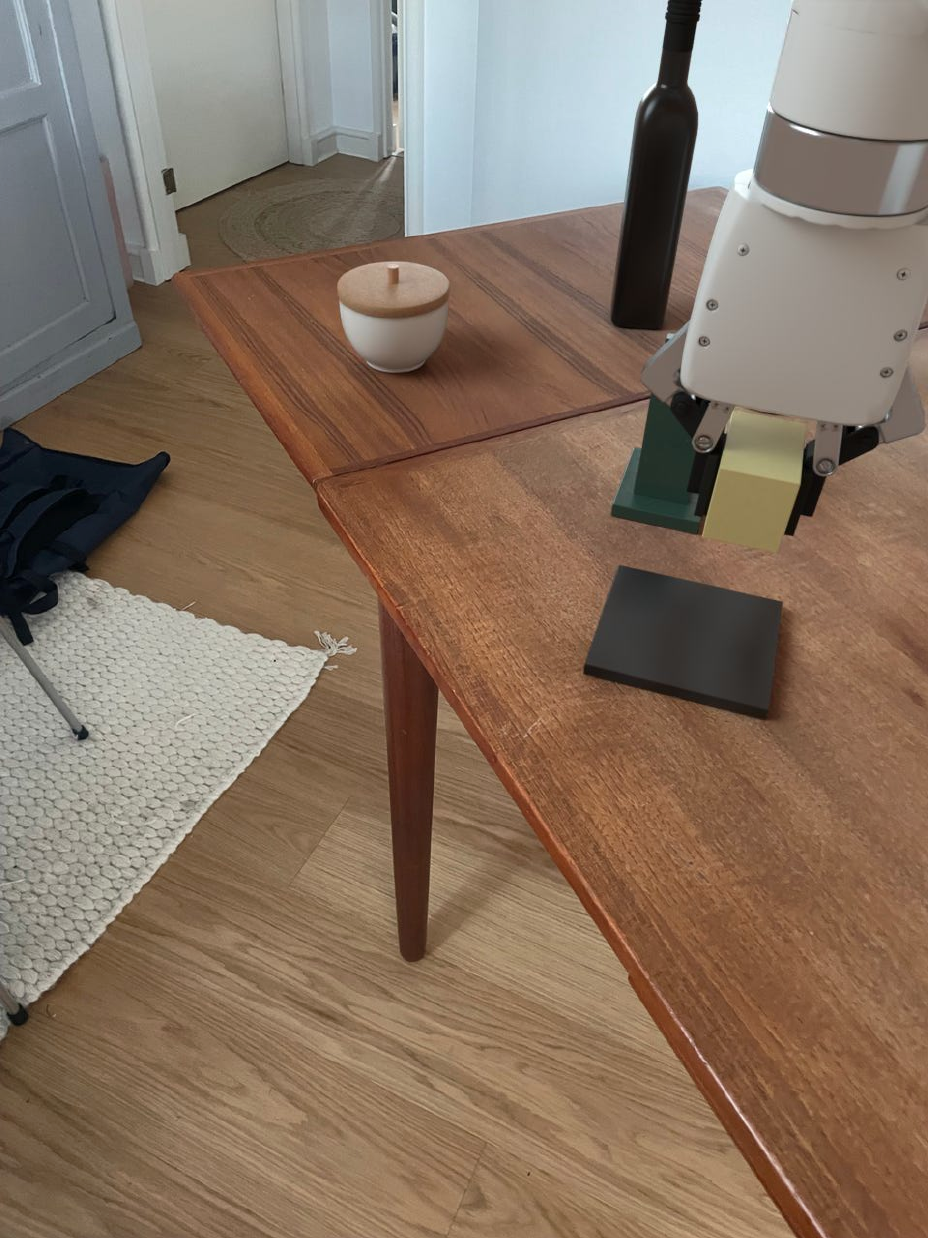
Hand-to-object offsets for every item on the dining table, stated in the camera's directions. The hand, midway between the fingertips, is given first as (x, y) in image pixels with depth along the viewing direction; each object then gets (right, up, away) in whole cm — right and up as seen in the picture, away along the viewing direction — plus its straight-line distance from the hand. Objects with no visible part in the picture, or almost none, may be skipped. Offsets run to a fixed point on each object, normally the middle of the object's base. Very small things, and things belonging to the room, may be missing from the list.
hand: (745, 509), depth 52 cm
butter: (0, 0, 0) cm, 0 cm away
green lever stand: (+1, +4, +26) cm, 26 cm away
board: (0, -8, +13) cm, 15 cm away
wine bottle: (+3, +27, +50) cm, 57 cm away
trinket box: (-23, +20, +42) cm, 52 cm away
